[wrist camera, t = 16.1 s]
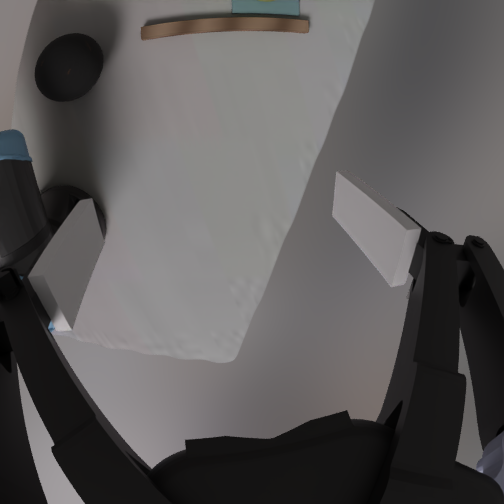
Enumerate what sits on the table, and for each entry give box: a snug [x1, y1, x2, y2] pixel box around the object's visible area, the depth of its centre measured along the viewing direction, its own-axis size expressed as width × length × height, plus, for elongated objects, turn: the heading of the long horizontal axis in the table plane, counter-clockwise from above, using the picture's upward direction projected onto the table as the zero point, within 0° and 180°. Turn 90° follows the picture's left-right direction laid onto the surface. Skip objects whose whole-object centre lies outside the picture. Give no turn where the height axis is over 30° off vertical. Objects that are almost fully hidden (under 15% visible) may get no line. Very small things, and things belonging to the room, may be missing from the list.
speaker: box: [35, 33, 103, 102], centre depth 28 cm, size 10×10×10 cm
